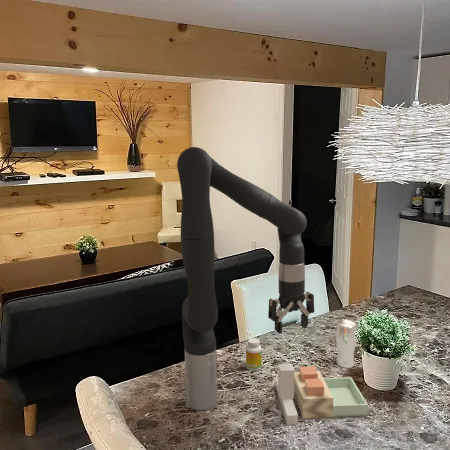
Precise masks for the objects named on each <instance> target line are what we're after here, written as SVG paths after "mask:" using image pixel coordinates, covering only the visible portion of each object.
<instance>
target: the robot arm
mask: <svg viewBox="0 0 450 450" xmlns="http://www.w3.org/2000/svg"><path fill="white" fill-rule="evenodd" d="M176 168H177V173H178V177H179V184H180V191H181V200H182V201H181V215H180V216H181V217H180V249H181V257H182V262H183V268H184V273H185V277H186V280H187V288H188V291H187V292H188V293H187V294H188V296H187V297H186V298H185V299H184V301H183V303H182V308H181V322H182V337H183V342H184V343H183V344H184V369H185V372H184V391H185V392H184V394H185V395H184V397H185V408H186V409H188V408H189V409H191V410H196V411H206V410H210V409H212V408H213V407H215V406H216V404H217V402H218V400H217V399H218V394H217V392H218V391H217V388H218V387H217V386H218V385H217V377H218V376H217V339H216V336H215V335H216V334H215V330H214V327H215V326H216V324H217V322H218V319H219V312H218V311H219V310H218V304H217V303H218V302H217V298H216V297H217V296H216V289H215V232H214V231H215V230H214V229H215V227H214V221H213V214H212V207H211V198H210V196H211V191H210V190H211V188H213V189H215V190H217V191H219V192H220V193H222V194H224V195H225V196H226V197H228V198H229V199H231V200H232V201H233V202H234V203H236V204H238V205H239V206H241V207H242V208H243V209H246V210H247V211H248V212H250V213H252V214H254V215H256V216H257V217H259V218H262V219H264V220H266V221H268V222H269V223H270V224H272V225H274V226H275V227H277V235H278V241H279V248H278V249H279V252H278V254H279V255H278V256H279V257H278V259H279V260H278V261H279V263H278V294H279V295H278V298H277V299H276V298H274V299H273V298H270V299H269V300H268V313H267V314H268V315H267V316H268V317H267V318H268V319H269V320H271V321H272V322H274V331H275V332H276V333H278V334H279V335H280V334H283V321H282V320H283V319H284V318H285V316H287V314H288V313H292V312H297V311H299V312H300V313H301V314H300V326H301V328H303V329H307V328H308V326H309V315H310V314H313V313H315V296H314V294H313V293H312V292H310V291H306V268H305V247H304V243H303V242H302V233H303V232H305V230H306V228H307V225H308V220H307V218H306V216H305V214H304V213H303V212H302V211H301V210H298V209H297V208H296V207H293V206H291V205H290V204H289V205H288V204H287V203H285V202H283V201H281V200H279V198H277V196H276V197H275V196H274V195H273V194H272V193H270V192H268V191H266V190H264V189H263V188H261V187H259V186H257V185H255V184H253V182H250V181H248V180H246V179H244V178H242V177H240V176H238V175H237V174H235V173H233V172H231V171H230V170H228V169H227V168H225V167H224V166H222V165H221V164H220V163H218V162H217V161H216V160H215V159H213V158H212V157H211V156H210V155H209V153H208V152H207V151H206V150H204V149H203V148H201V147H198V146H191V147H188V148H186V149H184V150H183V151H182V152H181V153H180V154H179V156H178V158H177V162H176ZM304 302H305V305H304V304H303V303H304Z"/></svg>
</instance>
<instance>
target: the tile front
mask: <svg viewBox="0 0 450 450" xmlns="http://www.w3.org/2000/svg"><path fill="white" fill-rule="evenodd" d="M305 389H306V391H307V394H308V395H324V385H323V383H322V381H321V379H305Z"/></svg>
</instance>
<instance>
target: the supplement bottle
mask: <svg viewBox="0 0 450 450" xmlns="http://www.w3.org/2000/svg"><path fill="white" fill-rule="evenodd" d="M260 342H261V340H260V339H259V338H256V337H255V338H254V337H251V338H249V339H248V340H247V345H246V348H245V366H246V369H248V370H250V371H258V370H260V369H261V368H262V367H263V366H262V363H263V362H262V359H263V357H262V356H263V355H262V354H263V353H262V352H263V351H262V349H263V348H262V346H261V345H260V344H261V343H260Z"/></svg>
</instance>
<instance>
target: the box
mask: <svg viewBox="0 0 450 450" xmlns="http://www.w3.org/2000/svg"><path fill="white" fill-rule="evenodd" d="M323 378H324V380H325V382H326V384H327V386H328V388H329V390H330V392H331V394H332V396H333V417H332V418H352V417H354V418H355V417H368V414H369V404H368V402H367V400H366V398H365V397H364V395H363V394H362V393H361V391H360V389H359V387H358V386H357V385H356V383H355V381H354V380H353V377H352V376H348V377H347V376H346V377H323Z"/></svg>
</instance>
